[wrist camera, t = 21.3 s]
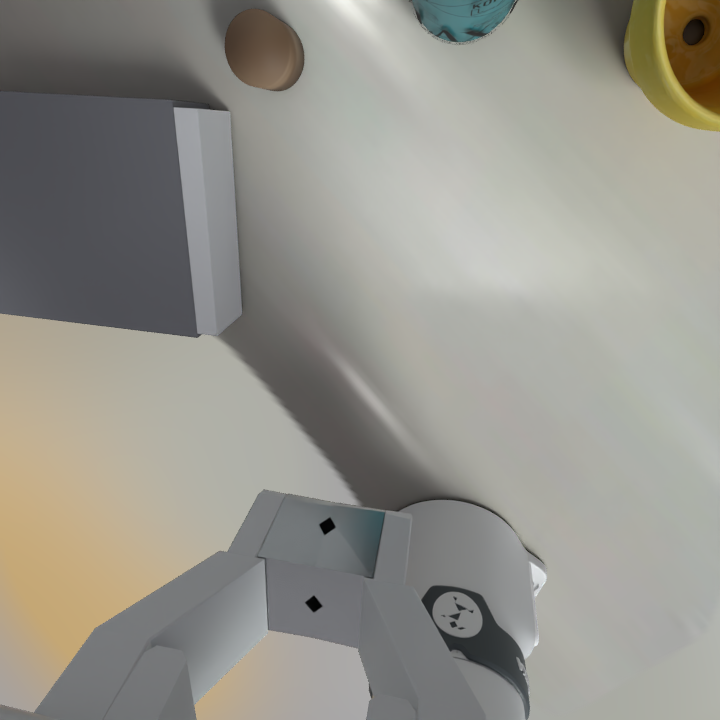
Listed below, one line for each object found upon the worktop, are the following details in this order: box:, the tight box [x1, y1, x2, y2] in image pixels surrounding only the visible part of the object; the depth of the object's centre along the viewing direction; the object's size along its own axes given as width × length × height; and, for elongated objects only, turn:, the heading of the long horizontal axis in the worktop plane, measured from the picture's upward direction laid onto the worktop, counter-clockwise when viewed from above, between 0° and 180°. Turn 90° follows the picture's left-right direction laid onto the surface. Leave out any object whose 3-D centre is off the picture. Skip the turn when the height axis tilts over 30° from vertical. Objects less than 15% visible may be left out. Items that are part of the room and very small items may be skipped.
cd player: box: [0, 91, 209, 338], centre depth 37 cm, size 18×16×5 cm
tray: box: [173, 107, 242, 336], centre depth 36 cm, size 18×15×5 cm
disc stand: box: [225, 9, 304, 91], centre depth 30 cm, size 4×4×4 cm
